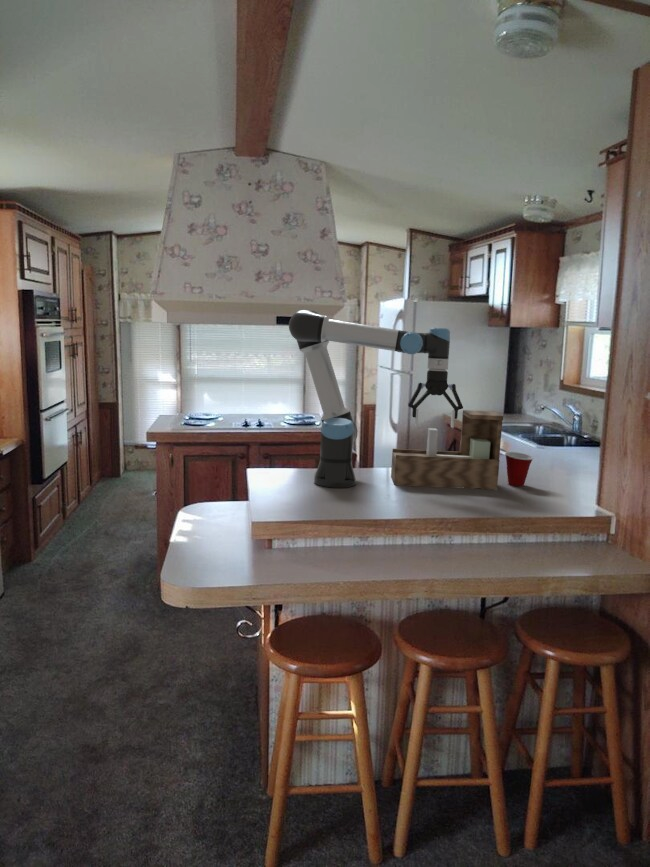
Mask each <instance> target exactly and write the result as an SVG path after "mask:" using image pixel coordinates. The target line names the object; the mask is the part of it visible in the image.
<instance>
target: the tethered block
mask: <svg viewBox="0 0 650 867" xmlns="http://www.w3.org/2000/svg"><path fill="white" fill-rule="evenodd" d="M438 437H439V430H438V429H437V428H434V427H428V428H427V439H426V440H427V441H426V450H427V452H426V454H427V455H428V456H433V457H454V458H476V459H489V454H490V441H488V440H487V439H475V438H470V450H469V456H459V455H438V454H436V453H437V451H438V440H439V438H438Z"/></svg>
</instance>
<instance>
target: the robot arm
mask: <svg viewBox="0 0 650 867" xmlns="http://www.w3.org/2000/svg"><path fill="white" fill-rule="evenodd" d="M288 330H289V332H290V335H291V336H292V338H293V339H295V340H296V342H297V345H298V349H299V351H300V352H301V353H303V354H304V355H305V358H306V362H307V365H308V368H309V371H310V372H309V373H310V374H311V377H312V378H311V379H312V381H313V384H314V387H315V391H316V394H317V397H318V400H319V405H320V408H321V411H322V416H321V419H320V421H321V427H320V432H321V433H320V435H321V436H320V448H319V449H320V453H319V457H320V458H319V463H318V466H317V468H316V472H315V473H314V478H313V480H314V481H313V482H314V484H315V485H318V486H320V487H326V488H333V489H334V488H335V489H338V488H339V489H341V488H343V489H344V488H351V487H353V486H355V485H356V482H357V481H356V474H355V472H354V468H353V463H352V462H353V445H354V443H355V442H356V439H357V438H358V427H357V424H356V423H355V421H354V420H353V416H352V413H351V410H350V409H348V408H346V407H345V404H344V400H343V397H342V393H341V391H340V387H339V384H338V380H337V377H336V374H335V370H334V367H333V364H332V360H331V357H330V354H329V350H328V345H329V343H330V342H333V343H340V344H347V345H353V346H361V347H366V348H373V349H378V350H385V351H393V352H397V353H401V354H402V353H403V354H407V355H416V354H427V369H428V370H427V371H426V382H425V383H424V382H423V383H422V382H420V381H419V382H418V383H417V387H416V390H415V391H414V393H413V395H412V397H411V398H410V400H409V402H408V403H407V406H408V407H409V408H412V413H411V417H412V418H414V426H415V427H416V428H418V426H419V425H418V423H419V421H418V420H419V408H418V407H419V406H420V405H421V404H422V403H423V402H424V401H425V400H426V399H427V398H428V397H429V396H430V395H431V396H441V397H442V395H443V396H444V398H445V399H446V401H447V402H448V403H449V405H450V406H451V407H452V408H453V409H451V413H450V414H451V415H450V416H451V418H450V428H452V429H455V420H457V419H458V417H459V416H458V413H459V410H462V409H463V410H464V406H463V404H462V402H461V399H460V397H459V394H458V391H457V389H456V388H457V387H456V384H455V383H450V384H449V383H448V377H449V376H448V375H449V374H448V373H449V372H448V371H447V370H449V356H450V346H451V345H450V344H451V339H450V338H451V331H450V330H449V328H446V327H445V328H444V327H430V329H429V331H428V332H415V331H406V330H399V329H395V328H387V327H381V326H375V325H369V324H361V323H357V322H350V321H349V322H348V321H344V320H343V321H342V320H338V319H330V318H329V317H328V316H327V315H323V314H321V313H319V312H317V311H315V310H309V309H300V310H298V311H296V312H295V313H294V314H293V315H292V316H291V318H290V319H289V322H288ZM424 388H425V389H426V391H425V392H424V393H423V394H422V396H420V397H419V399H418V400H417V401H416V399H417V398H418V396H419V395H420V392H421V390H422V389H424ZM448 388H449V390H451V392H452V395H453V397H454V400H455V401H456V404H457V405H456V404H455V402H454V401H453V400H452V398H451V397H450V396H449V394H448V392H447V391H446V390H448Z"/></svg>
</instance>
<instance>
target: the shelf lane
mask: <svg viewBox="0 0 650 867" xmlns="http://www.w3.org/2000/svg"><path fill="white" fill-rule="evenodd" d="M503 420H504V415H502V414H501V413H498V412H496V411H490V410H489V411H488V410H470V409H469V410H468V409H463V410H462V418H461V430H460V444H459V451H453V450H452V451H450V450H437V453H436V454H438V455H459V456H469V450H470V438H475V439H487V440H488V441H490V454H489V459H476V458H454V457H433V456H428V455H427V454H426V452H427V449H411V448H410V449H409V448H408V449H406V448H405V449H404V448H392V455H391V457H392V458H391V469H390V470H391V471H390V472H391V473H390V477H391V481H392V483H393V485H394V486H404V487H405V486H409V487H429V488H431V487H432V488H447V487H464V488H463V489H468V488H482V489H481V490H489V489H497V490H498V482H499V481H498V480H499V470H500V455H501V454H500V453H501V442H502V431H503Z"/></svg>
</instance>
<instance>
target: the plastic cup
mask: <svg viewBox="0 0 650 867" xmlns="http://www.w3.org/2000/svg"><path fill="white" fill-rule="evenodd" d="M504 455H505V462H506V475H507V483H508V486H511V485H513V486H512V487H519V486H520V487H523V486H525V482H526V480H527V477H528V474H529V470H530V465H531V463H532V461H533V460H534V459H535V457H534V456H532V455H530V454H526V453H522V452H515V451H505V452H504Z"/></svg>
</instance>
